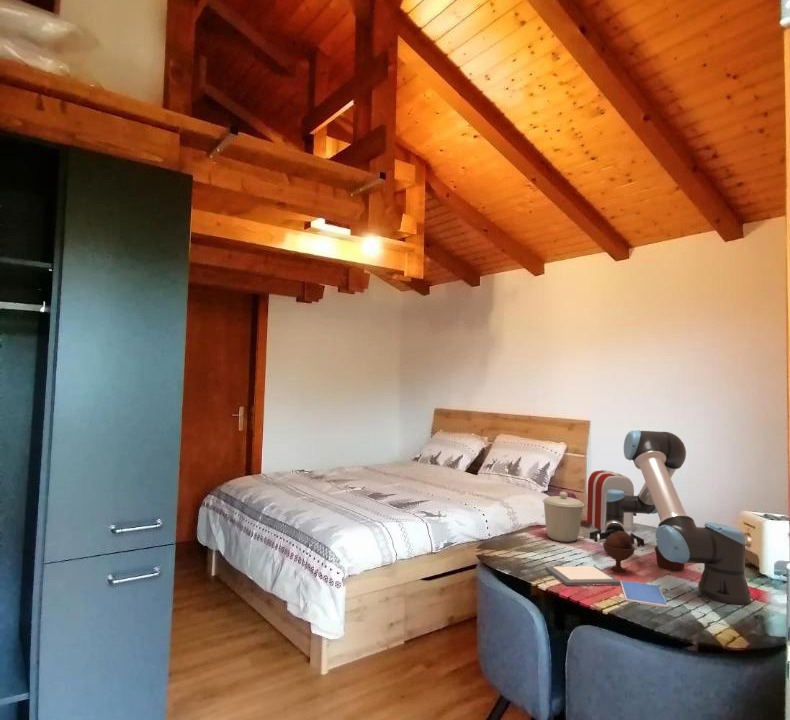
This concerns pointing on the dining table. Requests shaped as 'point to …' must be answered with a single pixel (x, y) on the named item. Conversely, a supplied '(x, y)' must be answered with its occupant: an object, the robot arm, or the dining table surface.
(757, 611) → the dining table surface
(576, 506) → the canister
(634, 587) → the tablet computer
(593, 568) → the sheet
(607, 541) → the ice cream bowl
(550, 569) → the mat
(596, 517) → the striped arched panel rack
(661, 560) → the muffin
